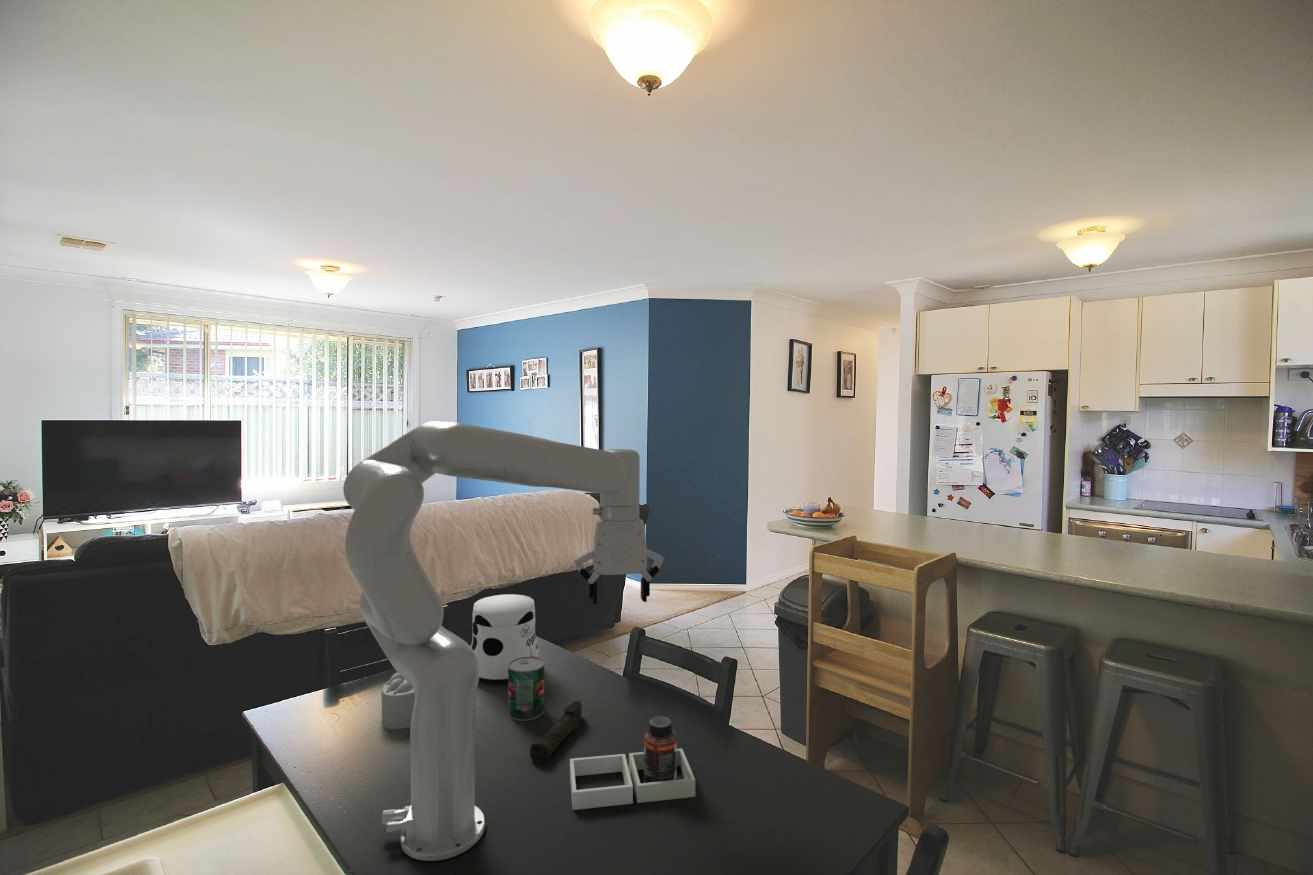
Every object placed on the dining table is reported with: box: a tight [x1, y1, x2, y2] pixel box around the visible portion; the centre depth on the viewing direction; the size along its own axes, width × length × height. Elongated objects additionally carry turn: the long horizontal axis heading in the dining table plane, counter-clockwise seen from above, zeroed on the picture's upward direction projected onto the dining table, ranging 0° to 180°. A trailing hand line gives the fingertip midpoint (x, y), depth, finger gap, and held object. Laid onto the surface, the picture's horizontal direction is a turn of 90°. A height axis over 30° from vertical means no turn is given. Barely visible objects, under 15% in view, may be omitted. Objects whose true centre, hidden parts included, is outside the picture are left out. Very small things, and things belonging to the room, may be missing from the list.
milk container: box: [470, 593, 540, 683], centre depth 157 cm, size 17×17×18 cm
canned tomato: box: [507, 657, 545, 722], centre depth 137 cm, size 8×8×11 cm
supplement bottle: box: [643, 715, 678, 783], centre depth 112 cm, size 6×6×11 cm
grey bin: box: [569, 753, 634, 811], centre depth 110 cm, size 10×10×3 cm
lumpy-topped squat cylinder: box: [381, 671, 415, 730], centre depth 136 cm, size 10×13×9 cm
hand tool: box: [529, 700, 583, 764], centre depth 126 cm, size 19×4×5 cm, turn 159°
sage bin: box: [628, 747, 696, 804], centre depth 112 cm, size 10×10×3 cm
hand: (619, 601), depth 120 cm, fingers open, 9 cm apart
